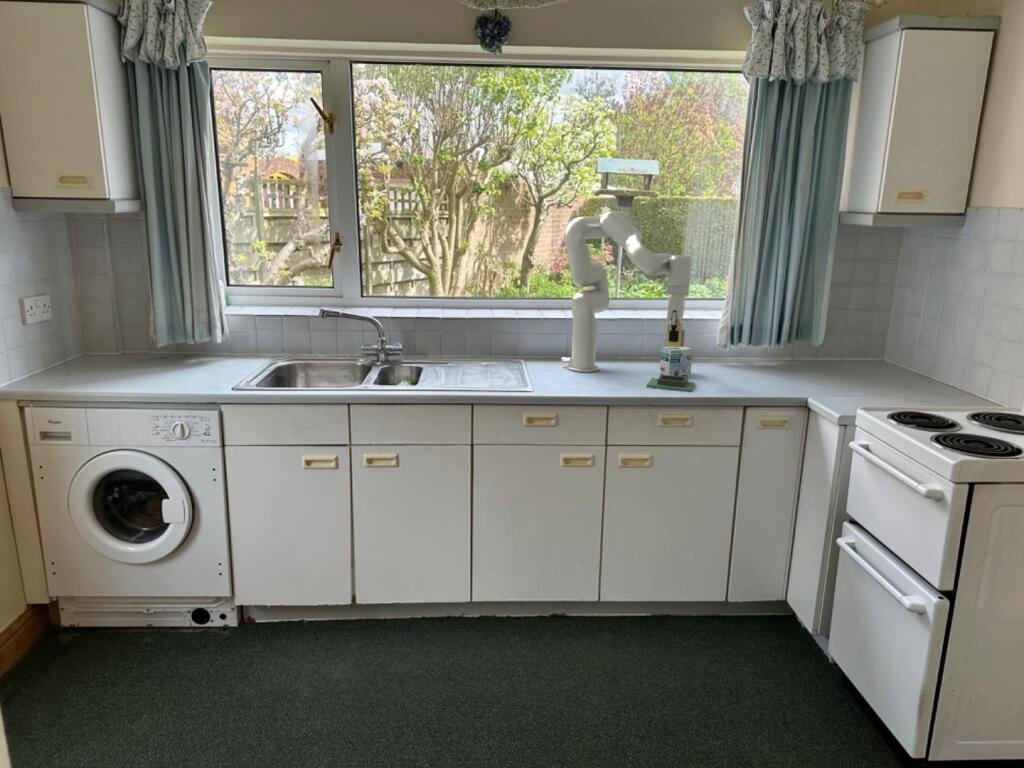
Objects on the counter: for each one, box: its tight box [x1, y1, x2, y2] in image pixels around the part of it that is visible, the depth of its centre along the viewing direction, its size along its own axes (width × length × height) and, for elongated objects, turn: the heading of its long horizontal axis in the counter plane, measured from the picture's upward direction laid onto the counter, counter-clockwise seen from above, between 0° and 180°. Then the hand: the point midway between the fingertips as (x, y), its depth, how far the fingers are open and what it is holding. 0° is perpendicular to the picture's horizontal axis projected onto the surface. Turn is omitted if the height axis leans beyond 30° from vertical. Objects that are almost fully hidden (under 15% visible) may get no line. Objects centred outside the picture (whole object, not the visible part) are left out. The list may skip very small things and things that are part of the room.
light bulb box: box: [659, 345, 694, 377], centre depth 287 cm, size 11×7×11 cm, turn 112°
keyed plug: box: [665, 322, 686, 347], centre depth 264 cm, size 6×4×8 cm, turn 71°
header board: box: [646, 374, 696, 393], centre depth 269 cm, size 16×12×3 cm
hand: (674, 340), depth 265 cm, fingers closed on keyed plug, 4 cm apart
